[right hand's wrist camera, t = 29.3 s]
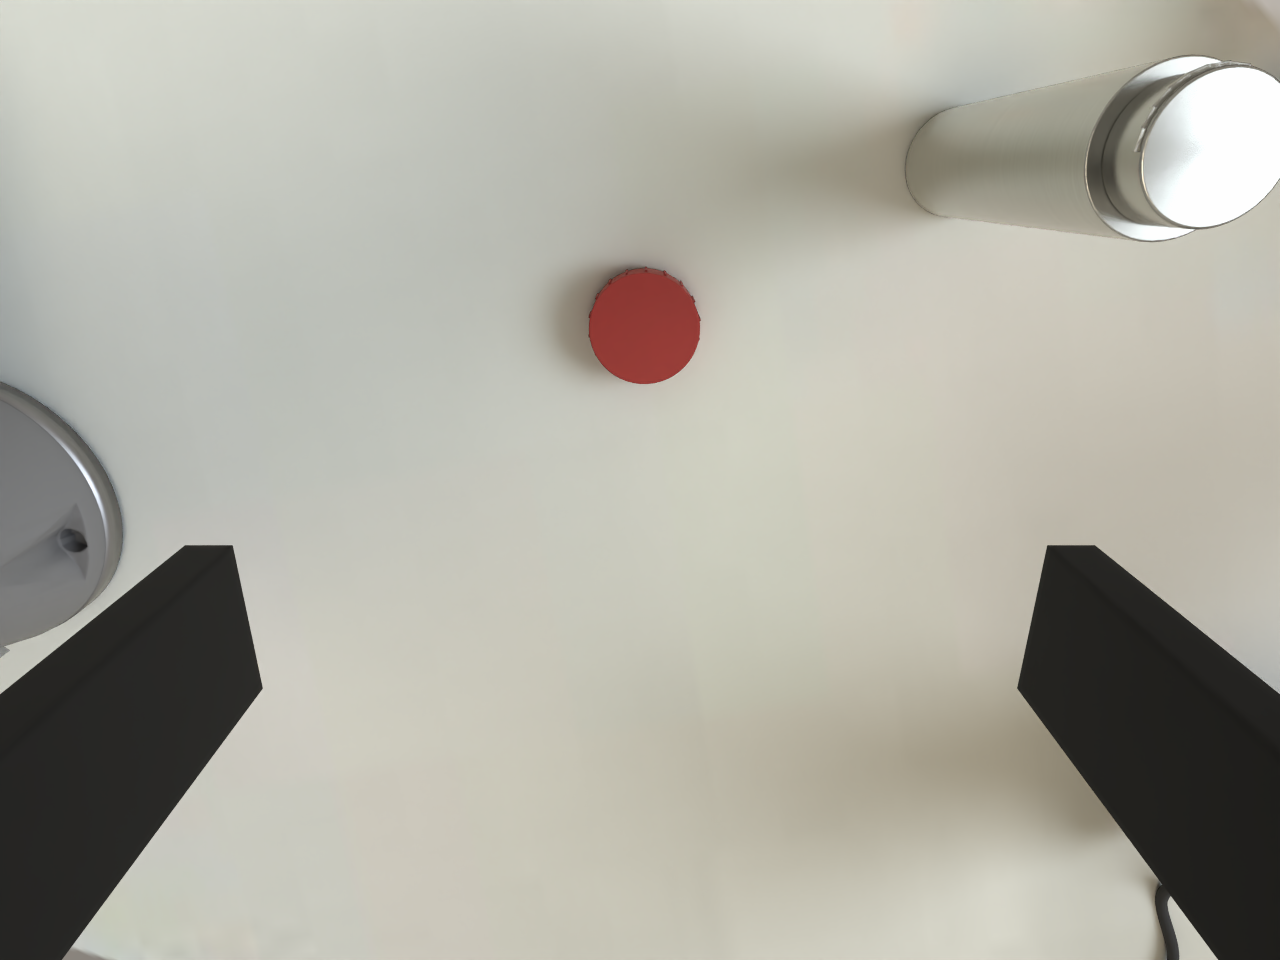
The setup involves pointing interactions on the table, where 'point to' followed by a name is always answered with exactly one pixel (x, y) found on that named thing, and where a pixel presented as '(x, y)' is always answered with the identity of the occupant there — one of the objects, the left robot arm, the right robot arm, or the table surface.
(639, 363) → the lid
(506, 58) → the table surface
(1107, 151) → the jar
